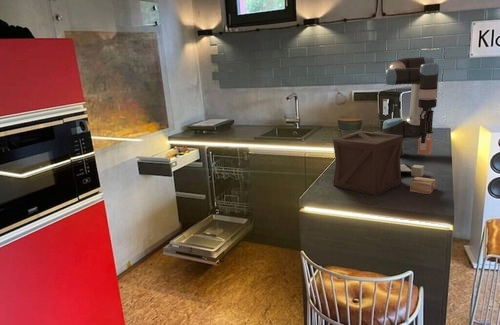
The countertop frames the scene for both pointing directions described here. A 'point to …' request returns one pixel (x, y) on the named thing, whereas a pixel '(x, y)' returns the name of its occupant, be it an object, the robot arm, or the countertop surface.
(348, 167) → the wooden crate
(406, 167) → the empty snack wrapper
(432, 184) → the oak block
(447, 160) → the countertop surface
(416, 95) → the robot arm
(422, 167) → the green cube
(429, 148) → the terracotta block
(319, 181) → the countertop surface
